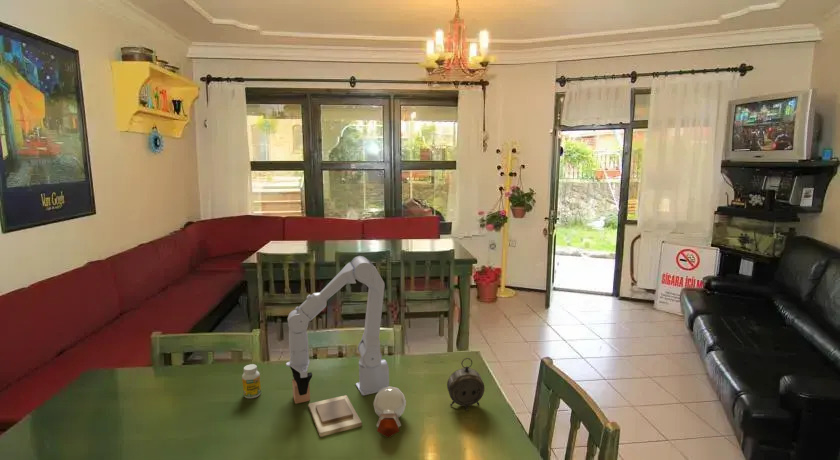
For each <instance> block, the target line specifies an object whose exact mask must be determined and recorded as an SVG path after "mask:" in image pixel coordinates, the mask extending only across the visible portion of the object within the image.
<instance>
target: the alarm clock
mask: <svg viewBox="0 0 840 460" xmlns="http://www.w3.org/2000/svg"><path fill="white" fill-rule="evenodd" d="M466 360H469V361H471V363H470V365H469V366H467V365H466V366H464V365H463V364H464V363H463V362H464V361H466ZM460 364H461V366H462V368H458V369H457V370H455V371H454V372H453V373H451V374H450V375H449V377H448V380H447V383H446V384H447V385H446V387H447V391H448V394H449V397H450V398H451V400H452V402H451V403H450V405H449V406H450V407H452V406H453V405H454V404H457V405H459V406H463V407H465V411H466V412H468V411H469V406H473V405H475V404H477V405H479V404H480V402H479V401H480V400H481V399H482V398H483V396H484V393H485V383H484V381H483V379H482V376H481V374H480V373H479V372H478V371H477V370H475V369H473V368H471V367H472V365H473V360H472V359H471V358H469V357H466V358H463V359H462V361H461V363H460Z"/></svg>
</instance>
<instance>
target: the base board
mask: <svg viewBox="0 0 840 460" xmlns="http://www.w3.org/2000/svg"><path fill="white" fill-rule="evenodd" d="M308 410H309V413H310V415H311V417H312V420H313V422H314V425H315V427H316V430H317V432H318V435H319V437H322V438H323V437H325V436H329V435H333V434H336V433H337V434H338V433H341V432H344V431H348V430H353V429H355V428H359V427H360V428H361V427H363V424H362V423H363V422H362V421H361V418H360V417H359V415H358V413H357V411H356V410H355V408H354V406H353V404H352V402H351V400H350V399H349V397H348V395H346V394H345V395H341V396H336V397H331V398H327V399H323V400H319V401H314V402H310V403H308Z"/></svg>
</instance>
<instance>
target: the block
mask: <svg viewBox="0 0 840 460" xmlns="http://www.w3.org/2000/svg"><path fill="white" fill-rule="evenodd" d="M291 381H292V382H291V383H292V397H293V400H294V403H295V405H296V404H300V403H305V402H309V401H311V392H310V389H311V388H310V384H309V385H308V390H307V394H305V395H300V394H299V391H298V387H297V383H296V381H295V380H294V378H293V379H291Z"/></svg>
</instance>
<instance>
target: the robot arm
mask: <svg viewBox="0 0 840 460" xmlns="http://www.w3.org/2000/svg"><path fill="white" fill-rule="evenodd" d="M356 280H357V282H359V283H361V284H364V285H366V287H368V291H367V293H368V294H367V300H366V301H367V302H366V310H365V318H364V329H363V330H364V331H363V334H362V335H361V340H360V341H359V344H358V346H357V350H358V353H359V355H360V358H359V361H358V375H359V376H358V377H359V378H358V379H359V382H356V383H355V386H356V388H357V389H358V391H359V392H360V395H361V396H367V395H368V396H369V395H371V394H377V393H378V392H379V391H380V390H381V388H385V387H388V386H390V369H389V365H388V362H387V360H386V359H384V358H383V357H382V355H383V354H382V352H381V341H380V333H381V332H380V331H381V322H382V321H381V320H382V313H383V305H384V304H383V303H384V297H385V296H384V295H385V281H384V280H383V278H382V277H381V275H380V272H379V271H378V269H377V268H376V266H374V264H373V262H372V261H370V260H369V259H368V258H366V257H365V256H363V255H362V256H361V255H358V256H355V257H353V259H352V260H351V261H349V262H348V263H346V264H345V266H343V268H342V269H341V270H340V271H339V272H338V273H337V274H336V275H335V276H334V277H333V278H332V279H331V280H330V281H329V283H327V284H326V285H325V286H324V288H322V289H321V290H320V292H319V291H318V292H313V293H312V294H308V295H307V296H306V299H305V301H303V302H302V303H301V304H300V305H299V306H296V307H295V309H293V310H291V311H290V312H289V314H288V316H287V318H286V319H287V326H288V345H289V361H287V362H286V363H285V366H286V367H287V368H290V369H291V370H290V371H291V372H292V377H293V379H294V380H295V381H296V383H297V387H298V391H299V394H300V395H305V394H307V390H308V385H309V386H310V382H311V379H312V378H313V373H312V372H313V371H311V372H308V369H309V365H310V362H311V360H310V355H309V338H308V337H309V334H308V331H307V329H308V327H309V323H310V322H311V321H312V320H314V319H315V317H316V316H318V315H319V314H320V313H321V312H322V311H323V310H324V309H325V308H326V307H327V302H328V300H329V299H330V298H331V297H332V296H334V295H335V294H336V293H337V292H339V291H340V290H341V289H342V288H343V287H344V286H345V285H348V284H353V285H354V284H357V282H356Z"/></svg>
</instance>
